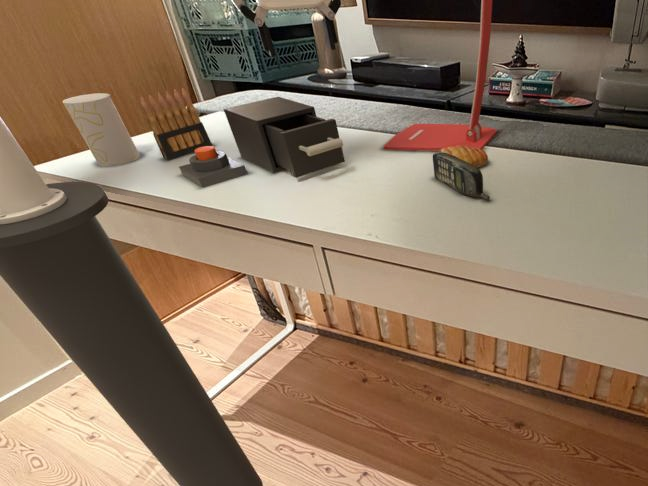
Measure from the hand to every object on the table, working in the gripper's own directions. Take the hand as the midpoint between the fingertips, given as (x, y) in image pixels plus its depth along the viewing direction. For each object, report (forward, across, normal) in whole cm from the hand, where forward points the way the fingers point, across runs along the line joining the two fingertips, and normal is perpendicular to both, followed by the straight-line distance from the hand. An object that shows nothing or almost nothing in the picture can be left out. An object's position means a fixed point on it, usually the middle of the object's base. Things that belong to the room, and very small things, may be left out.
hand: (302, 52), depth 76 cm
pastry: (+20, +23, -9) cm, 32 cm away
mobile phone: (+20, +19, -19) cm, 34 cm away
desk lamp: (+20, +25, +11) cm, 34 cm away
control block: (+20, -21, +13) cm, 32 cm away
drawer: (+19, -3, +6) cm, 20 cm away
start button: (+17, -21, +13) cm, 30 cm away
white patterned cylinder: (+20, -40, +35) cm, 57 cm away
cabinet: (+20, -7, +16) cm, 27 cm away
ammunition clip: (+20, -26, +32) cm, 45 cm away
